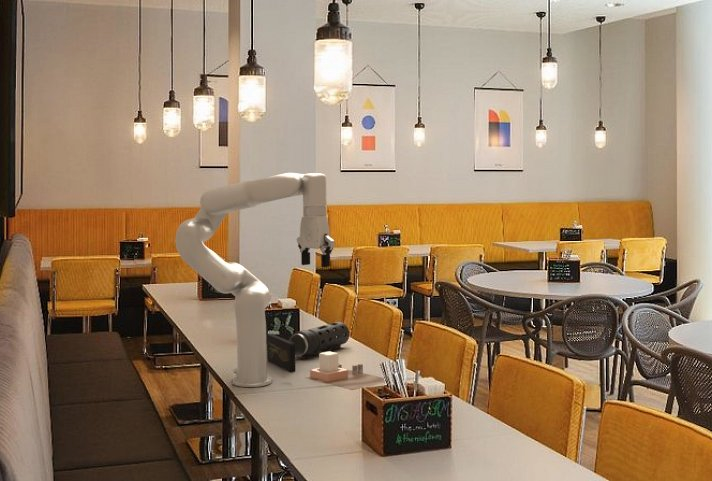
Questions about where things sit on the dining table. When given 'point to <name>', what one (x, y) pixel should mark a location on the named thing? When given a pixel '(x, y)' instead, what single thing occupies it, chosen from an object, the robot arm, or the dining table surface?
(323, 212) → the robot arm
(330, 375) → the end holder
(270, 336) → the nameplate
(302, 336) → the muzzle brake
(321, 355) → the white rectangular block
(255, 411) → the dining table surface
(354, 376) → the board
